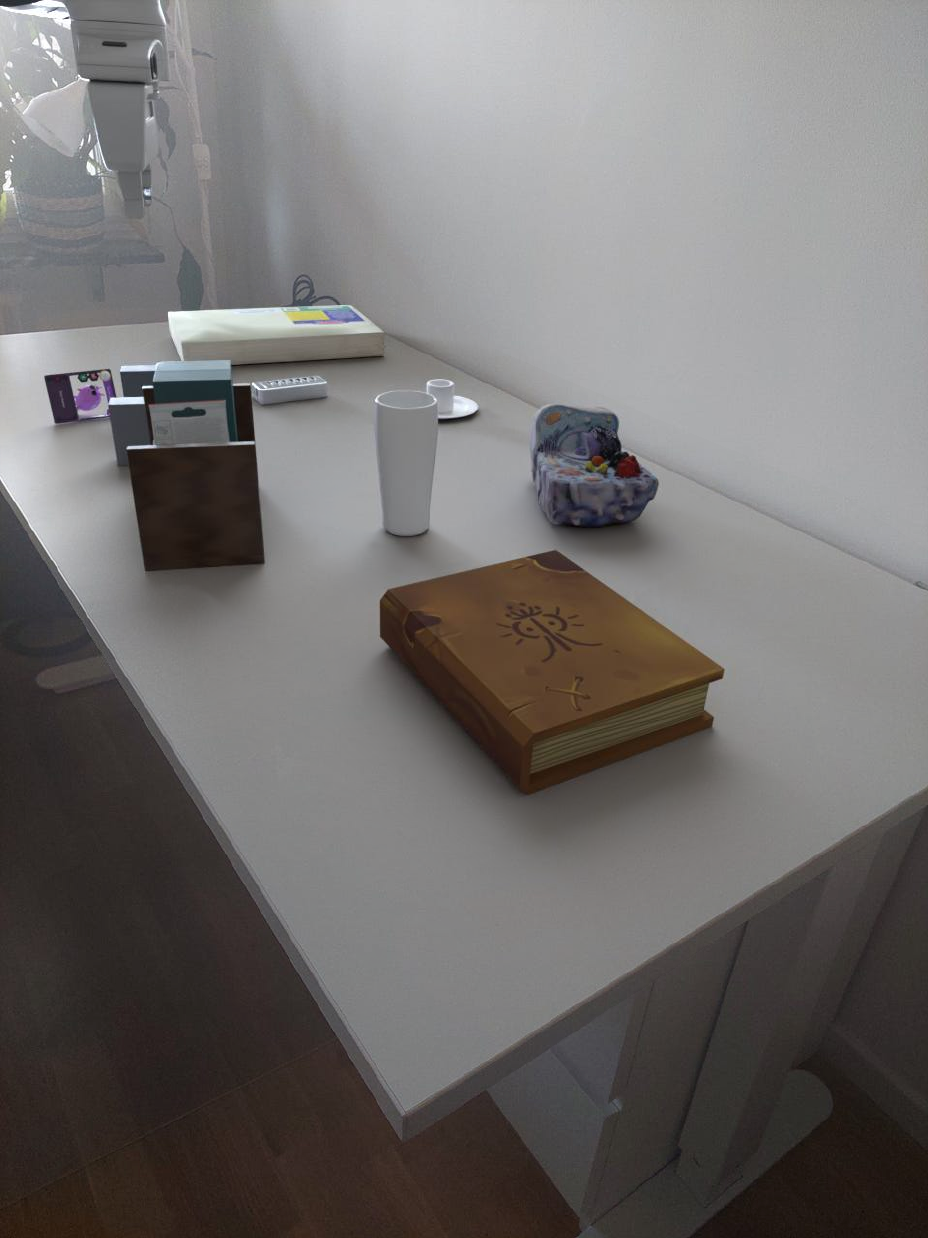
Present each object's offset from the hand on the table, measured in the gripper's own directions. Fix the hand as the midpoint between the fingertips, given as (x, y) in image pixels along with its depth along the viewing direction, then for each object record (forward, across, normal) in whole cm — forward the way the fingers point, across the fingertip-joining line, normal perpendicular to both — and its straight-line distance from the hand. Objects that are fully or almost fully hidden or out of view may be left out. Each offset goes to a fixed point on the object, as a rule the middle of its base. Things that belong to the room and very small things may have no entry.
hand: (140, 211), depth 99 cm
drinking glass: (+31, +15, +27) cm, 44 cm away
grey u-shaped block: (+31, -17, -4) cm, 36 cm away
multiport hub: (+31, -36, +16) cm, 50 cm away
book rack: (+31, +12, +4) cm, 33 cm away
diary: (+31, +48, +33) cm, 66 cm away
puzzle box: (+31, -68, +14) cm, 76 cm away
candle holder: (+31, -27, +38) cm, 56 cm away
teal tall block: (+30, +6, +4) cm, 31 cm away
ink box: (+30, +14, +4) cm, 34 cm away
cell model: (+31, +11, +48) cm, 58 cm away
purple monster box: (+32, -29, -14) cm, 45 cm away
